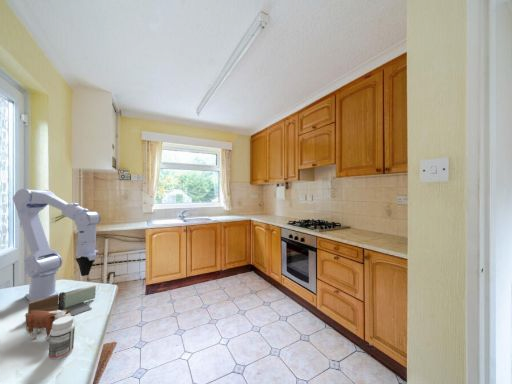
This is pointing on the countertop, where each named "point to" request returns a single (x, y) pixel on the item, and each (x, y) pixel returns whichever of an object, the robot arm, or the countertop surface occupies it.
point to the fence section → (48, 303)
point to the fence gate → (79, 295)
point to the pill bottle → (61, 337)
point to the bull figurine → (42, 321)
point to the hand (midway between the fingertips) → (85, 275)
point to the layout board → (76, 309)
